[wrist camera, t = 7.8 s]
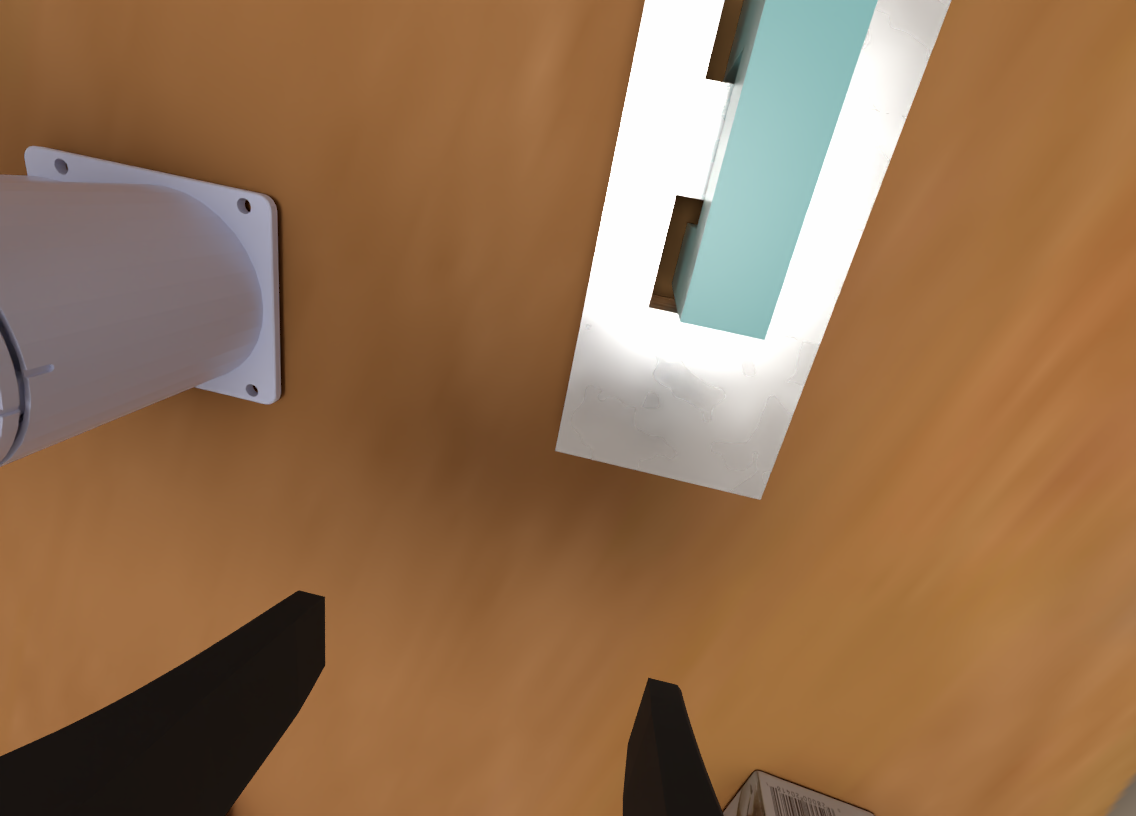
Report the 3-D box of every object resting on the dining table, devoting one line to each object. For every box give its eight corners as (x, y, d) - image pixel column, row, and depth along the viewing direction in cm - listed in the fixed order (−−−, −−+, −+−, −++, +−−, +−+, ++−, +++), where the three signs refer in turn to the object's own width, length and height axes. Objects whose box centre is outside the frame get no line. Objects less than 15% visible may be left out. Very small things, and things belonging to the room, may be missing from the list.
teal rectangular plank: (671, 284, 18) (679, 322, 13) (743, 1, 15) (794, -113, 10) (730, 296, 18) (764, 340, 13) (815, 13, 15) (908, -94, 10)
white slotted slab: (566, 422, 21) (555, 451, 18) (718, -323, 13) (732, -435, 11) (748, 465, 20) (760, 499, 18) (1018, -282, 12) (1100, -390, 10)
